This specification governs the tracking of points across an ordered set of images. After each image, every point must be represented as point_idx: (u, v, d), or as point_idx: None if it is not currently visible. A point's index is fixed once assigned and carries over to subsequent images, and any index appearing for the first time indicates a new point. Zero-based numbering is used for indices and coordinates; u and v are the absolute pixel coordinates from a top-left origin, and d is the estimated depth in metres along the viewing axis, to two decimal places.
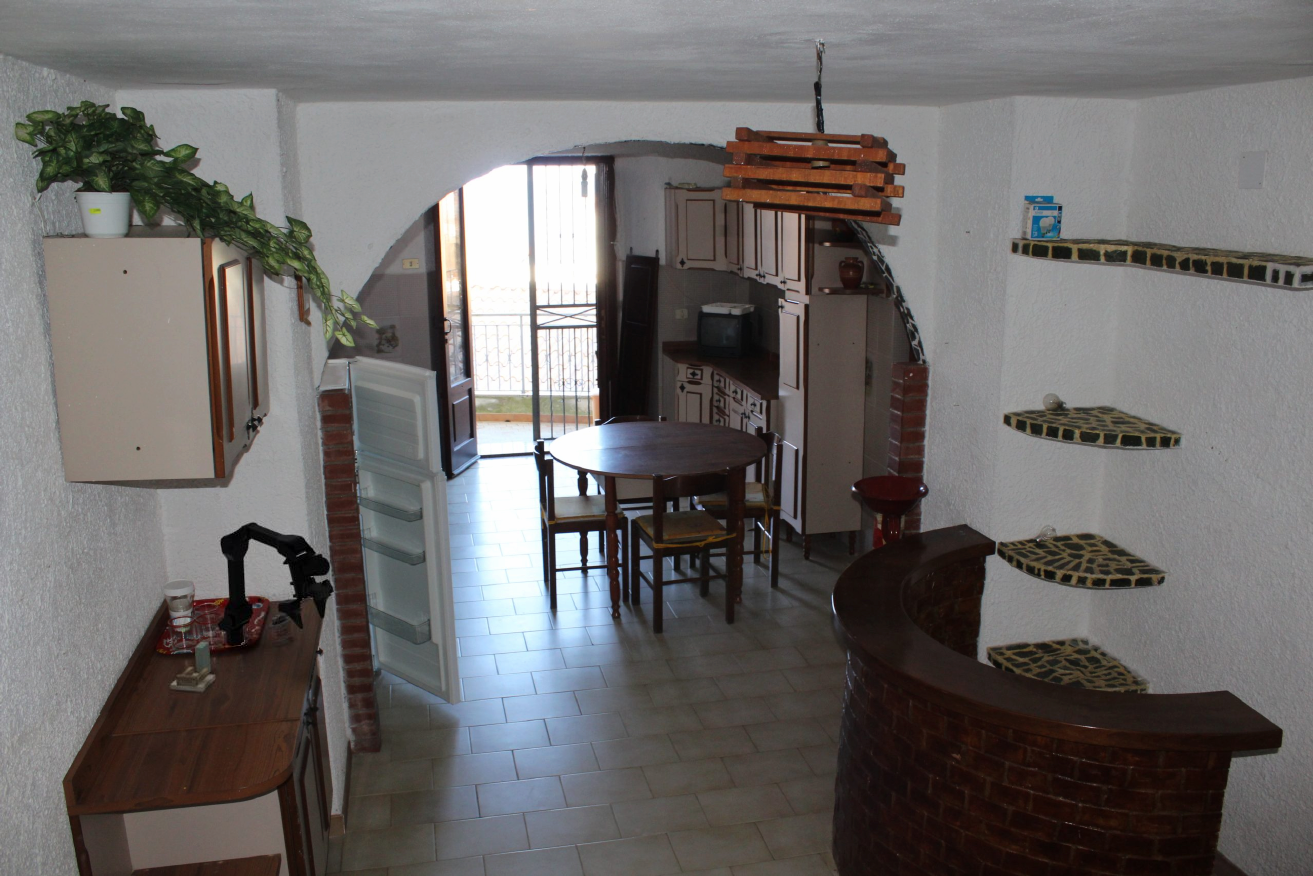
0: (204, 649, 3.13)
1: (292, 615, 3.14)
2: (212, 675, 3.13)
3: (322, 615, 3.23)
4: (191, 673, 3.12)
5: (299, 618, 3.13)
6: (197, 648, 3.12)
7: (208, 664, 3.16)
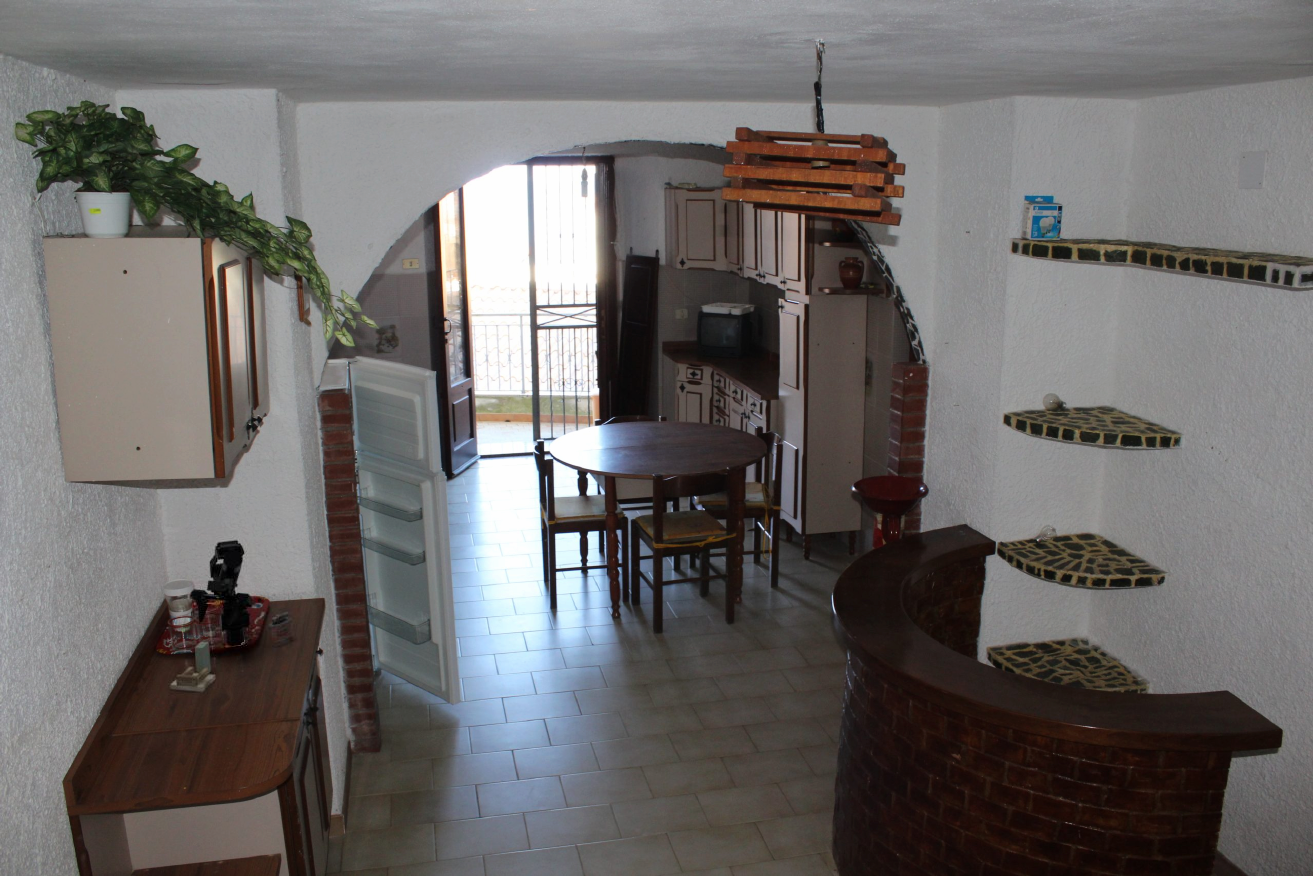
0: (204, 649, 3.13)
1: None
2: (212, 675, 3.13)
3: None
4: (191, 673, 3.12)
5: (199, 609, 3.21)
6: (197, 648, 3.12)
7: (208, 664, 3.16)
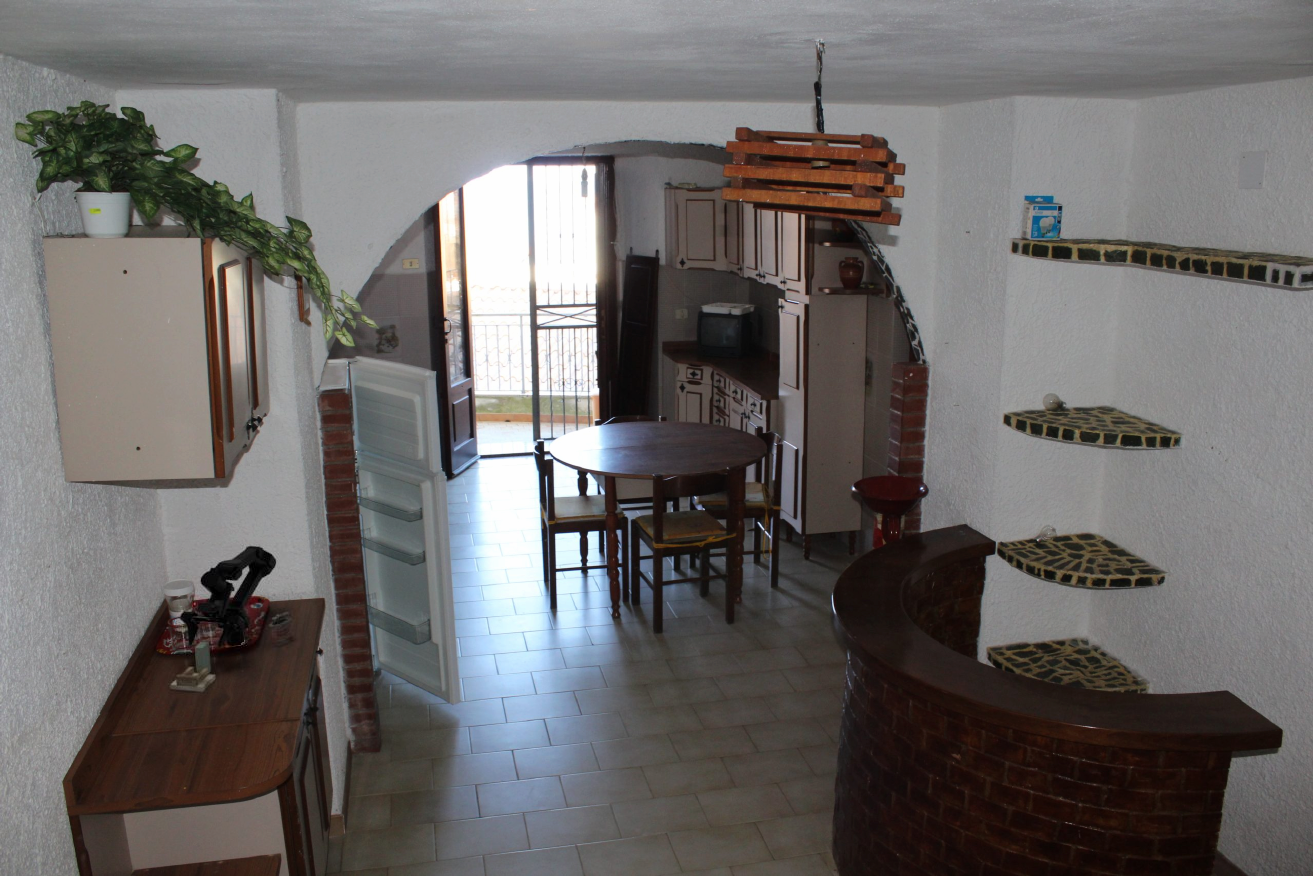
0: (204, 649, 3.13)
1: None
2: (212, 675, 3.13)
3: None
4: (191, 673, 3.12)
5: (189, 631, 3.16)
6: (197, 648, 3.12)
7: (208, 664, 3.16)
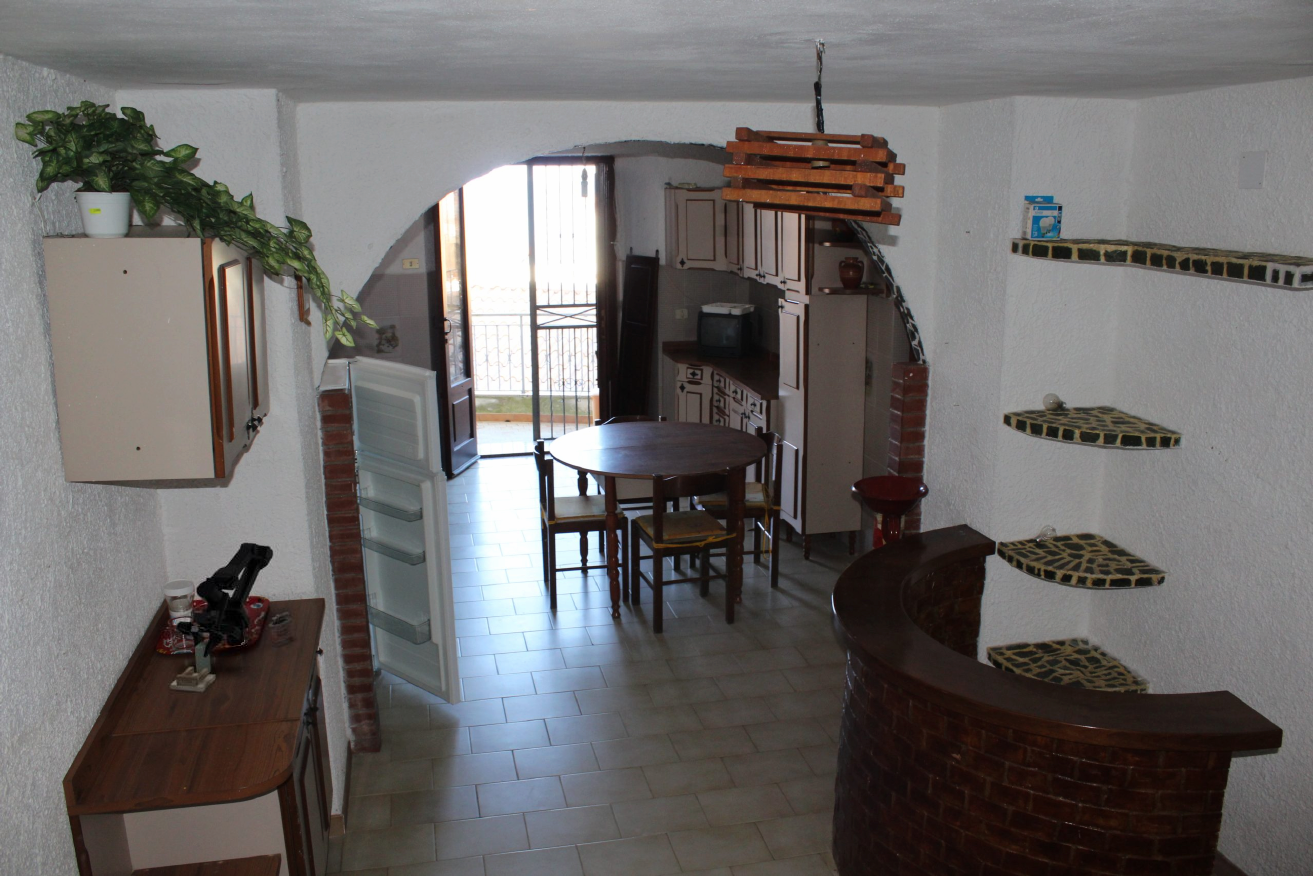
0: (204, 649, 3.13)
1: None
2: (212, 675, 3.13)
3: None
4: (191, 673, 3.12)
5: (195, 643, 3.14)
6: (197, 648, 3.12)
7: (208, 664, 3.16)
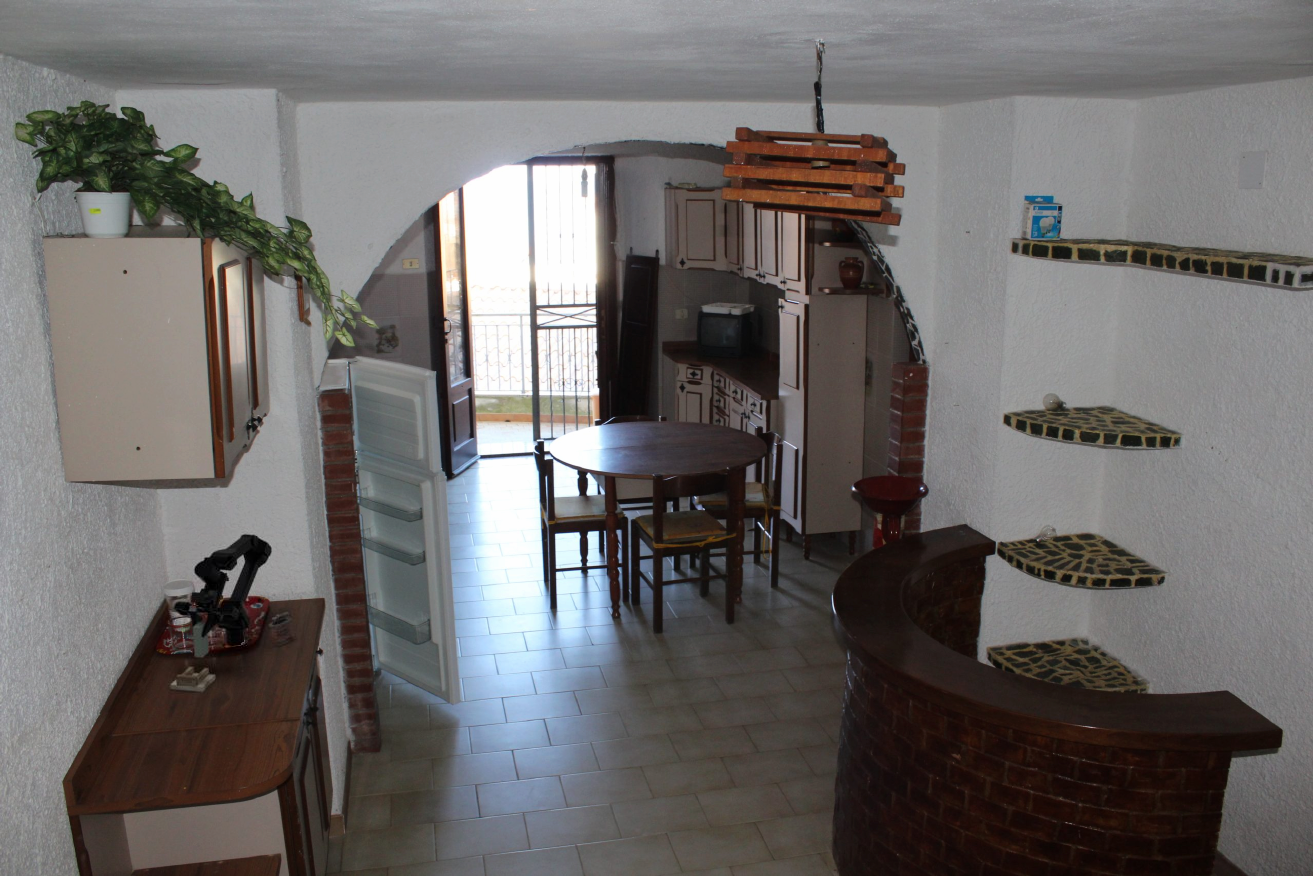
0: (202, 628, 3.11)
1: None
2: (212, 675, 3.13)
3: None
4: (191, 673, 3.12)
5: (193, 623, 3.12)
6: (195, 628, 3.10)
7: (206, 644, 3.14)
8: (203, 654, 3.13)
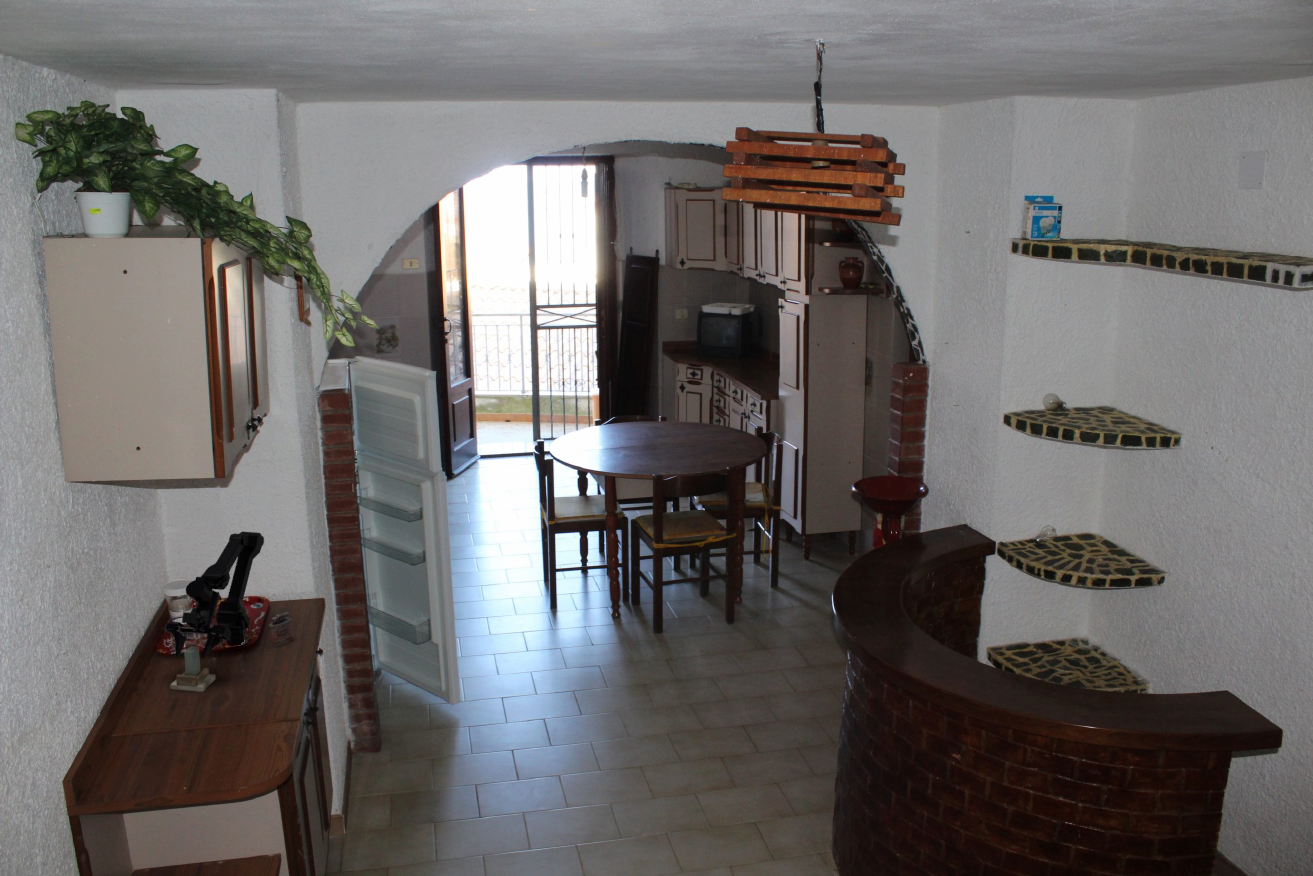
0: (193, 653, 3.07)
1: None
2: (212, 675, 3.13)
3: None
4: None
5: (176, 643, 3.08)
6: (186, 652, 3.06)
7: (198, 669, 3.10)
8: None
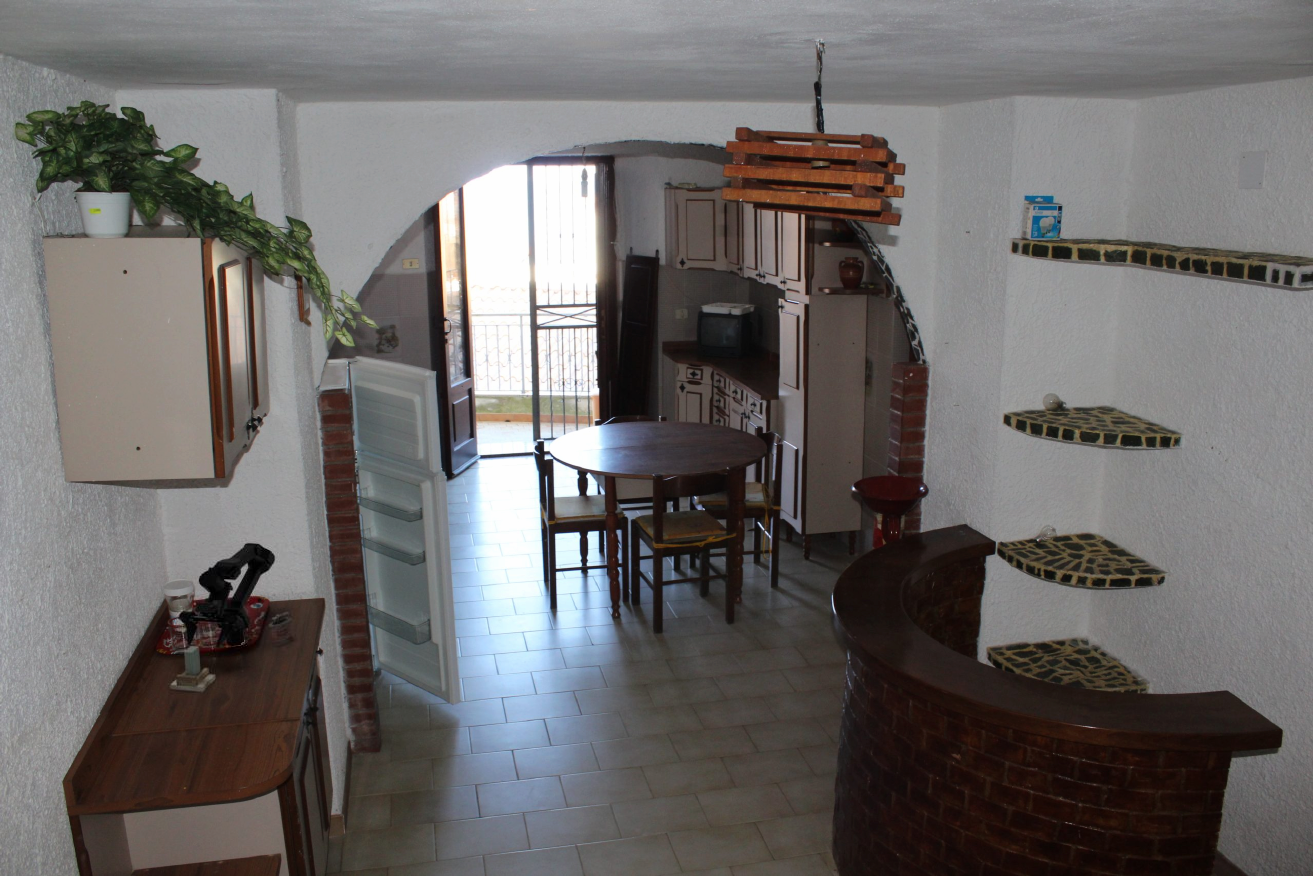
0: (193, 653, 3.07)
1: None
2: (212, 675, 3.13)
3: None
4: None
5: (187, 631, 3.15)
6: (186, 652, 3.06)
7: (198, 669, 3.10)
8: None
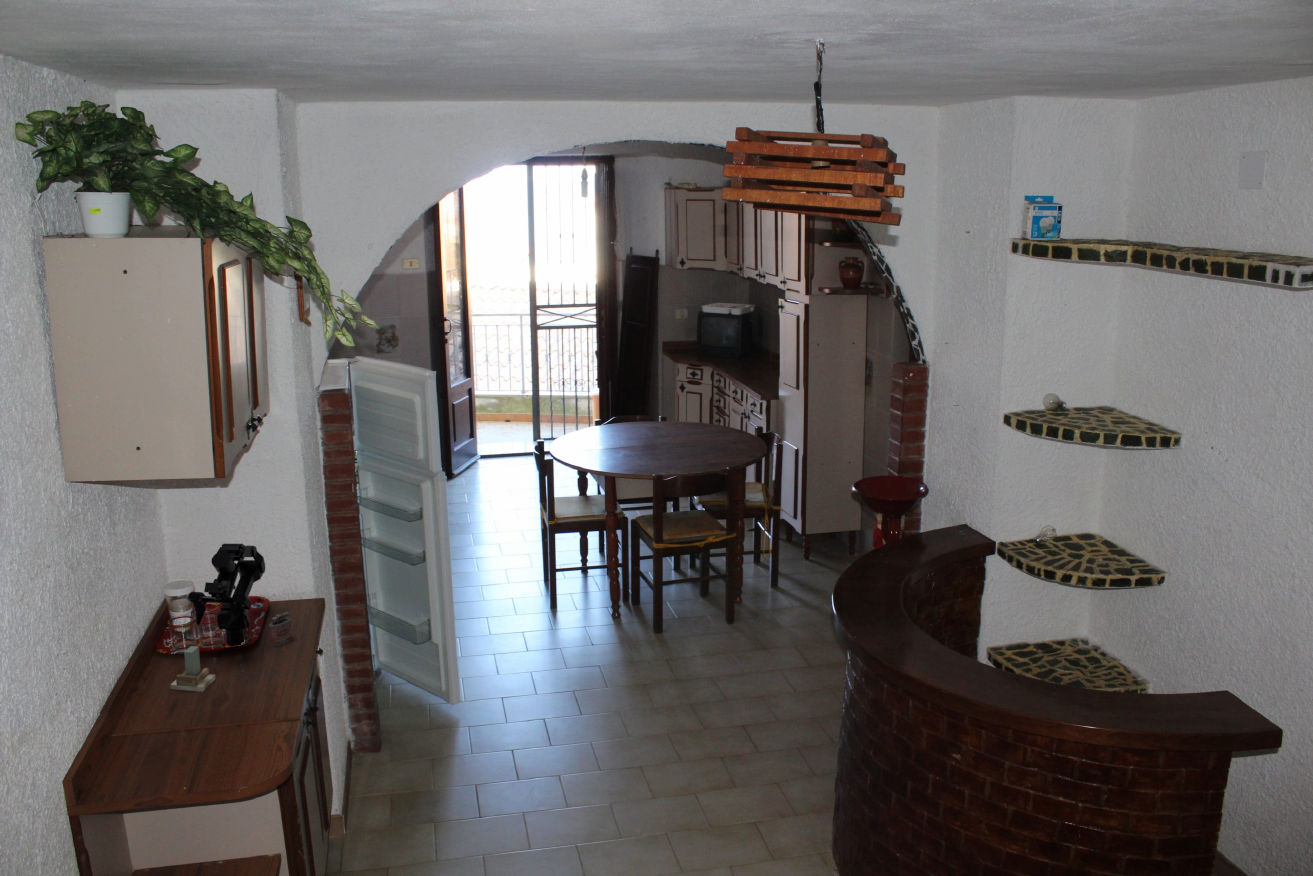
0: (193, 653, 3.07)
1: None
2: (212, 675, 3.13)
3: None
4: None
5: (196, 611, 3.19)
6: (186, 652, 3.06)
7: (198, 669, 3.10)
8: None
